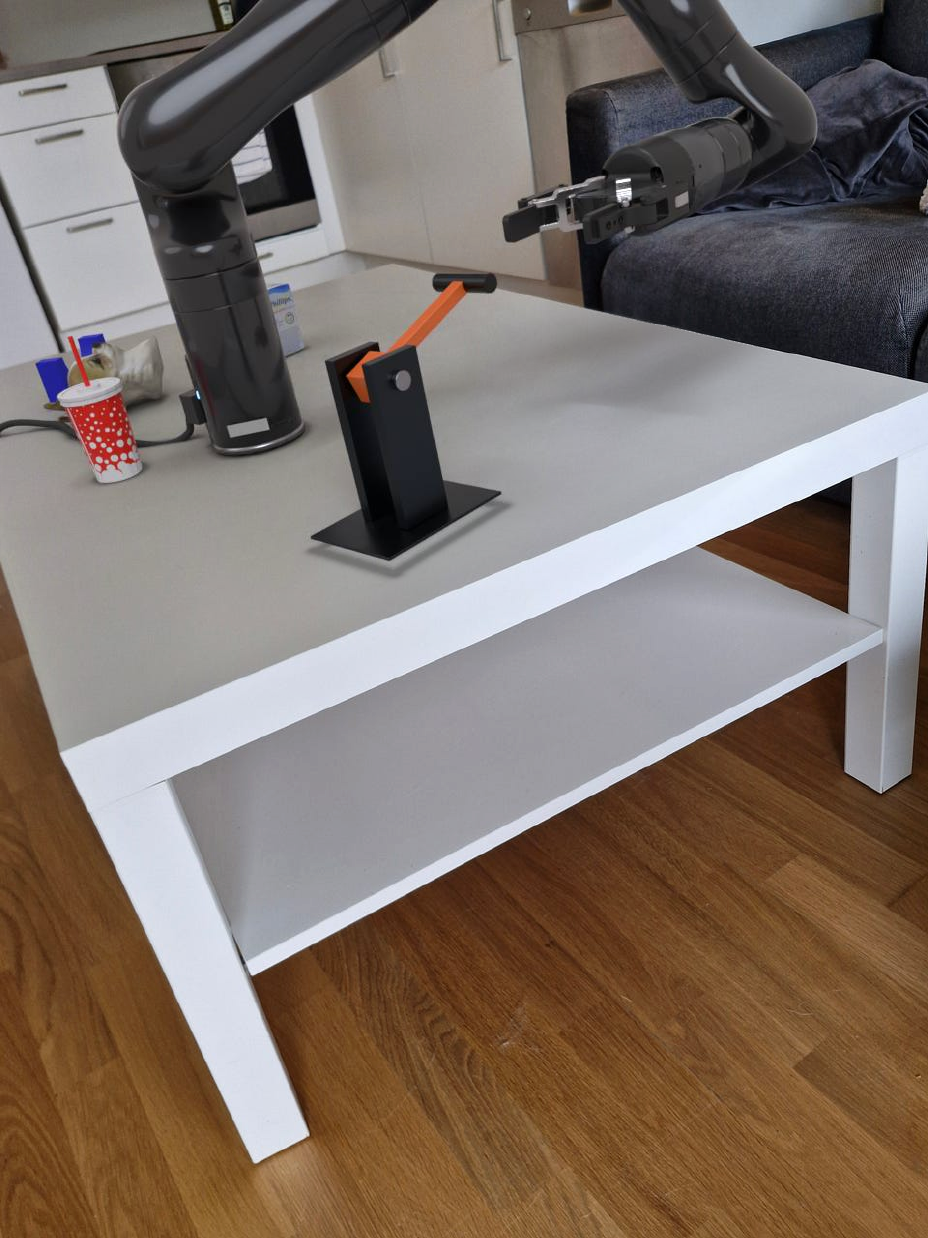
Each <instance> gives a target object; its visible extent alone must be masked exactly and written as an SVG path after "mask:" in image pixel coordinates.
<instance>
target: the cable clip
mask: <svg viewBox="0 0 928 1238" xmlns="http://www.w3.org/2000/svg"><path fill="white" fill-rule="evenodd" d="M77 342H78V345H79V350H80V358H82V357H85V356H88V355H92V343H94V342H100V343H101V342H105V343H107V341H106V339H105V336H104V334H103V332H102V333H95V334H89V335H82V336H81V337H79V338H77ZM34 365H35V366H36V370H37V373H38V375H39V377H40V380H41V382H42V385H43V387H44V390H45V393H46V395H47V398H48V401H49V403H55V402H56V401H57V400H58V399H57V396H58V394H59V393H61V392H62V391H63V390H65V389H68V388H69V387H68V384H67V374H68V371H69V368H68V366H67V365H66V363H65V361H64V359H63V356H59V357H58V356H57V357H53V358H52V357H51V358H43V359H40V360H39V361H37V362H35V364H34Z"/></svg>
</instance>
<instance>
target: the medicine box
mask: <svg viewBox="0 0 928 1238" xmlns="http://www.w3.org/2000/svg"><path fill="white" fill-rule="evenodd" d="M265 284H266V287H267V291H268V294H269V298H270V302H271V306H272V309H273V313H274V317H275V320H276V324H277V328H278V332H279V335H280V339H281V343H282V347H283V350H284V354H285V358H286V357H289V356H291V355H293V354H296V353H297V352H300V351H302V350H304V349H305V348H306V347H305V342H304V338H303V335H302V329H301V326H300V322H299V318H298V315H297V311H296V306H295V303H294V298H293V295H292V290H291V287H290V284H289V283H265Z"/></svg>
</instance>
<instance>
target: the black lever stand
mask: <svg viewBox="0 0 928 1238" xmlns="http://www.w3.org/2000/svg"><path fill="white" fill-rule="evenodd" d="M380 348H381V347H380V344H379V342H378V341H368V342H365V343H362V344H360V345H358V346H355V347H354V348H353V347H352V348H350V349H349V350H346V351H343V352H341V353H339V354H337V355H334V356H332V357H329V358H328V359H325V360H324V364H325V369H326V373H327V376H328V377H327V378H328V380H329V386H330V389H331V393H332V396H333V401H334V405H335V410H336V413H337V417H338V421H339V424H340V429H341V433H342V436H343V441H344V446H345V450H346V452H347V456H348V461H349V466H350V469H351V474H352V477H353V482H354V485H355V489H356V493H357V497H358V501H359V506H360V508H359V509H357V510H356V511H354V512H352V513H350V514H348V515H346V516H345V517H343V518H341V519H339V520H338V521H335V522H334V523H331V524H330V525H328V526H326V527H324V528H323V529H321V530H319V531H317V532H316V533H314V534H312V535H310V539H311V540H314V541H317V542H321V543H324V544H327V545H331V546H334V547H338V548H341V549H345V550H349V551H353V552H355V553H359V554H363V555H367V556H370V557H373V558H376V559H380V560H383V561H387V562H391V561H392V560H394V559H396V558H397V557H399V556H400V555H403V554H404V553H405V552H408V551H409V550H411V549H412V548H414V547H416V546H417V545H420V544H421V543H422V542H424V541H426V540H428V539H429V538H431V537H433V536H434V535H436V534H437V533H439V532H441V531H442V530H444V529H446V528H448V527H449V526H451V525H452V524H454V523H456V522H457V521H460V520H461V519H462V518H465V516H467V515H469V514H470V513H473V512H474V511H475V510H476V511H477V509H479V508H481V507H482V506H485V505H486V504H487V503H489V502H490V501H493V500H494V499H496V498H497V497H499V496H501V495H502V491H501V490H496V489H492V488H486V487H481V486H475V485H470V484H467V483H461V482H456V481H450V480H445V479H444V477H443V472H442V468H441V463H440V458H439V453H438V449H437V444H436V439H435V434H434V428H433V424H432V420H431V414H430V409H429V405H428V399H427V394H426V391H425V384H424V381H423V375H422V370H421V366H420V361H419V355H418V350H417V348H416V346H415V345H404V346H402V347H400V348H397V349H395V350H393V351H391V352H388V353H386V354H384V355H382V356H379V357H377V358H375V359H372V360H370V361H368V362H366V363H363V364H362V365H361V366H362V370H363V374H364V379H365V383H366V387H367V392H368V396H369V400H370V403H368V402H362V401H361V400H360V398H359V396H358V395H357V393H356V391H355V390H354V388H353V387H352V385H351V383H350V382H349V380H348V378H347V374H348V373H349V372H350V371H351V370H352V369H353V368H354V367H355V366H356V365H357V364H358V363H359V362H360V361H361V360H362V359H363V358H364V357H365V355H366V354H367V353H368V352H369V351H374V352H381V349H380Z"/></svg>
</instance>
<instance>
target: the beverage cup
mask: <svg viewBox="0 0 928 1238" xmlns="http://www.w3.org/2000/svg"><path fill="white" fill-rule="evenodd" d="M67 340H68V343H69V346H70V349H71V352H72V354H73V356H74V359H75V361H76V362H77V365H78V368H79V370H80V373H81V376H82V378H83V381H84V383H81V384H78V385H75V386H72V387H70V388H68V389H65V390H63V391H62V392H61V393H59V394H58V396H57V399H58V400H59V401H60V405H61V406H63V407H64V408H65V410H66V411H65V413H66V412H67V415H68V417H69V419H70V421H71V422H70V423H71V425H72V429H74V430H75V432H76V434H77V437H78V438H77V440H78V441H79V443H80V445H81V447H82V449H83V452H84V455H85V457H86V458H87V459H86V460H87V461H88V464H89V466H90V467H91V470H92V472H93V475H94V477H95V478H96V481H97V482H99V483H100V484H111V483H118V482H121V481H125V480H127V479H130V478H133V477H134V476H136V475H137V474H139V473H140V472H142V471H143V467H144V466H143V463H142V460H141V456H140V453H139V449H138V447H137V445H136V442H135V440H136V439H135V436H134V431H133V428H132V425H131V421H130V418H129V414H128V410H127V407H125V403H124V400H123V396H122V393H121V390H122V385H121V380H120V379H118V378H101V379H96V380H91V381H89V380H88V377H87V375H86V372H85V369H84V366H83V364H82V361H81V354H80V353H79V350H78V348H77V345H76V341H75V339H74V336H73V335H69V336H67Z"/></svg>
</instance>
